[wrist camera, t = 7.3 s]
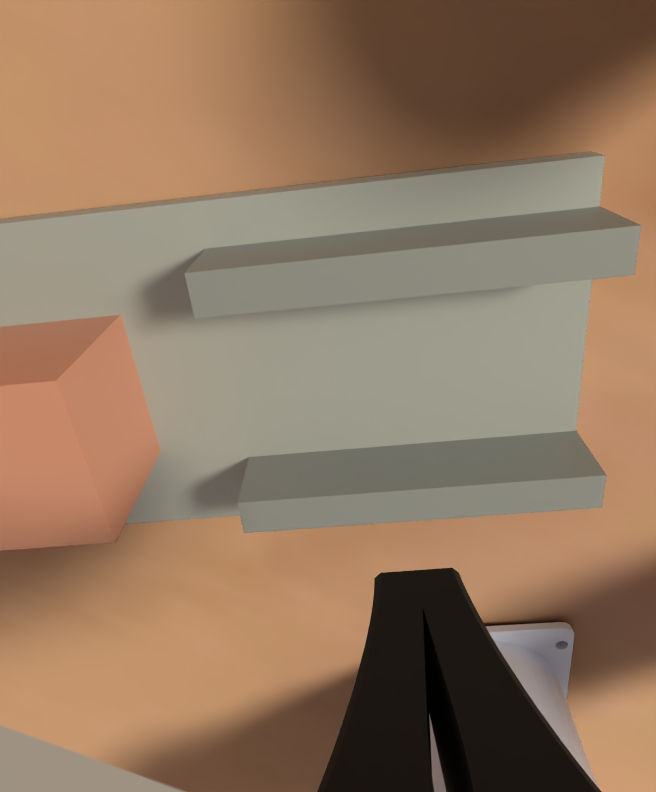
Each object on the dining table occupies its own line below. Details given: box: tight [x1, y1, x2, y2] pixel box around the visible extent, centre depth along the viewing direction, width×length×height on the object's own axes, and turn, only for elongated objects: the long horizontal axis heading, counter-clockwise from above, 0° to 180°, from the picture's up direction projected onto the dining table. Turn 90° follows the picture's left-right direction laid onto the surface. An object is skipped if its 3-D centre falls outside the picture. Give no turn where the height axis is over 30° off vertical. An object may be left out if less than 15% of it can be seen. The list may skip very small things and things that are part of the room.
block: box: [0, 315, 161, 551], centre depth 17 cm, size 5×6×4 cm
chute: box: [0, 152, 641, 533], centre depth 18 cm, size 11×22×4 cm, turn 96°
